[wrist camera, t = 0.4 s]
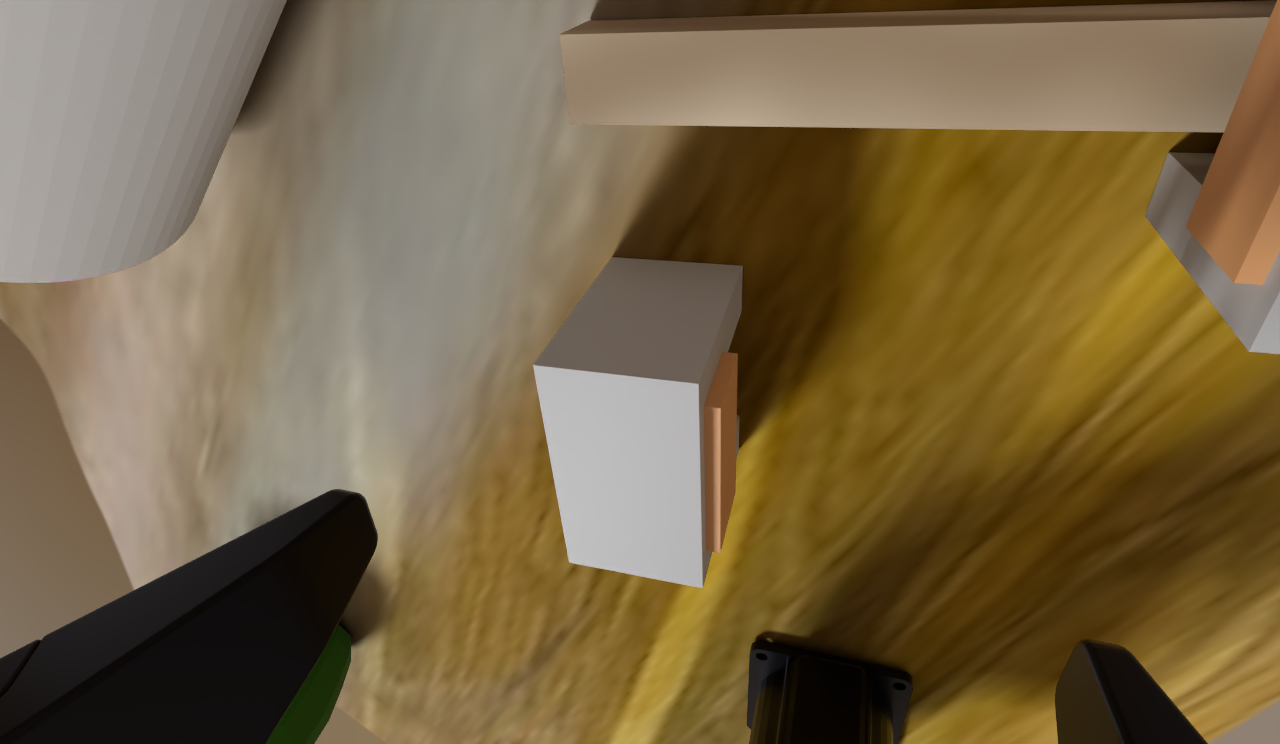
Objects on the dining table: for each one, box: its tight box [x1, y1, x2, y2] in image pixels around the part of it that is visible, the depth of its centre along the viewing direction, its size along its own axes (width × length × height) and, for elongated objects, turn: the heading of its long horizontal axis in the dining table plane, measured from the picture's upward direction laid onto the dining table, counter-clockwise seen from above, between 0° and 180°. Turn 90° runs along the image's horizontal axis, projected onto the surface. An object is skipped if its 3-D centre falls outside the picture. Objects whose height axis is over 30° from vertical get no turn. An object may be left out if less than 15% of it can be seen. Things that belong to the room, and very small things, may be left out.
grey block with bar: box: [560, 0, 1280, 354], centre depth 13 cm, size 7×18×6 cm, turn 94°
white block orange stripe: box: [533, 257, 743, 588], centre depth 20 cm, size 7×4×6 cm, turn 4°
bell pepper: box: [266, 625, 351, 744], centre depth 37 cm, size 8×8×10 cm
